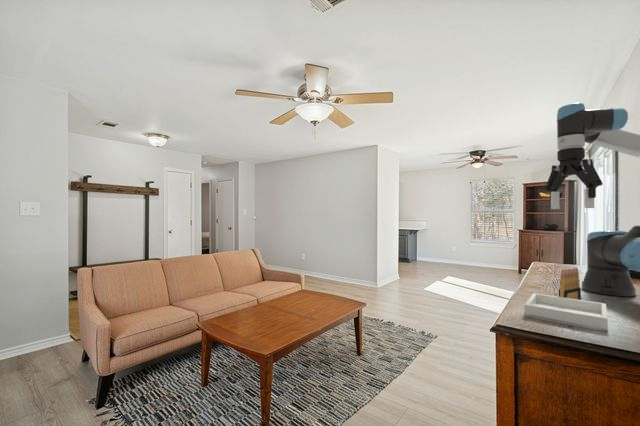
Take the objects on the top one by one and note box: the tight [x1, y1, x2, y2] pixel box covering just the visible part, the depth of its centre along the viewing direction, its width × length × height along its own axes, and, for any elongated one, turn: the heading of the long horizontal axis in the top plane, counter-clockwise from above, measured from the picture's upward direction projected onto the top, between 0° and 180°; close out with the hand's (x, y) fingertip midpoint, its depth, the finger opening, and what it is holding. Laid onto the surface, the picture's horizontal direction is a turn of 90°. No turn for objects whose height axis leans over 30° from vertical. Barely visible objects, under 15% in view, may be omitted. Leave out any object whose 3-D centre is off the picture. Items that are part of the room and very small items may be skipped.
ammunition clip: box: [558, 267, 582, 300], centre depth 104 cm, size 11×2×12 cm, turn 116°
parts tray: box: [523, 292, 609, 333], centre depth 91 cm, size 18×18×4 cm
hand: (571, 208), depth 107 cm, fingers open, 13 cm apart
